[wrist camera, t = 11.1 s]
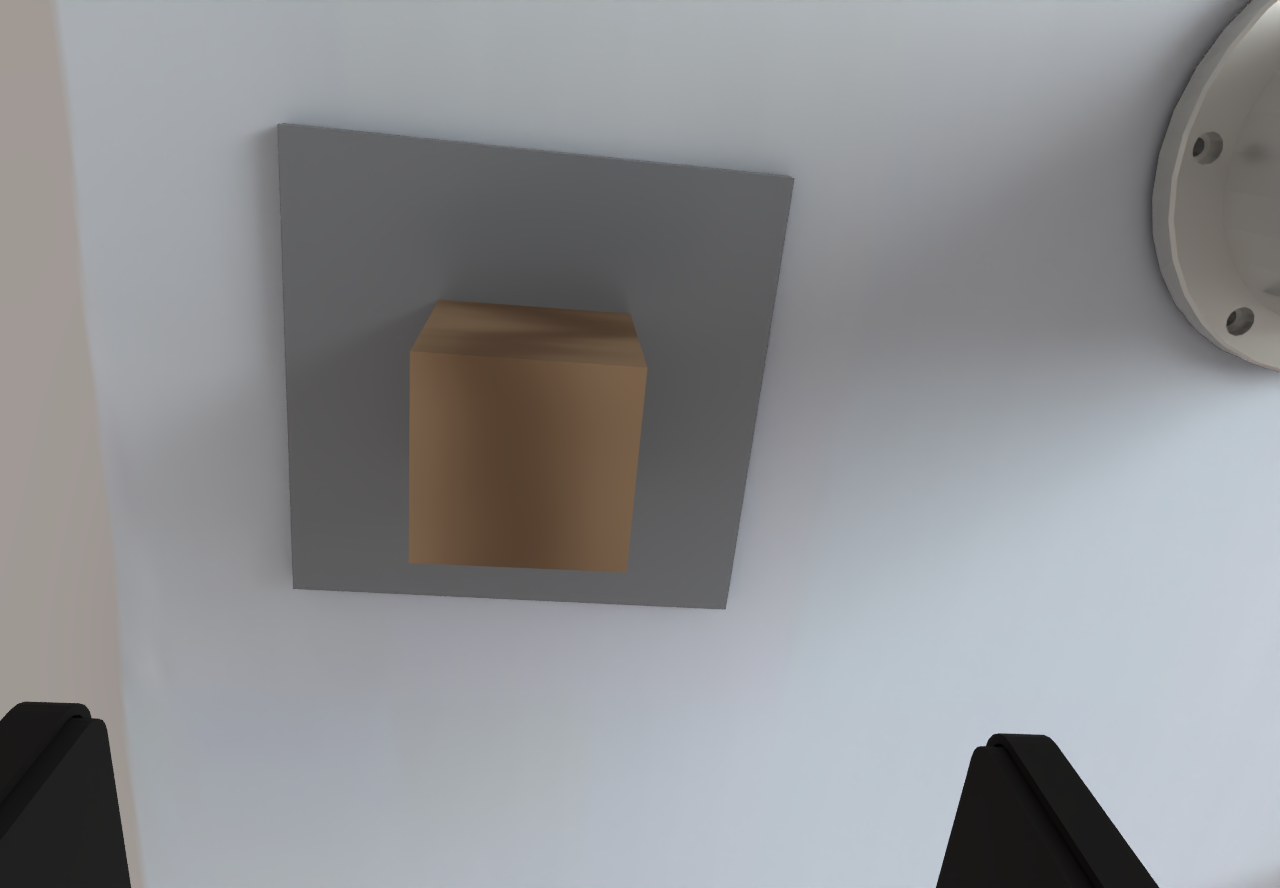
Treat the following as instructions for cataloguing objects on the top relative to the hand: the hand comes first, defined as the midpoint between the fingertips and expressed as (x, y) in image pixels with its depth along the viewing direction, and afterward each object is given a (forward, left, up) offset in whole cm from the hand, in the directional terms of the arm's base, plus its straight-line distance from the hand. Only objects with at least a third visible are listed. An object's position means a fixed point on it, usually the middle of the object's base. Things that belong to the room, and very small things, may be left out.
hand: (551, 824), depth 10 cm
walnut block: (+1, +1, -18) cm, 18 cm away
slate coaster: (+1, +1, -19) cm, 19 cm away
